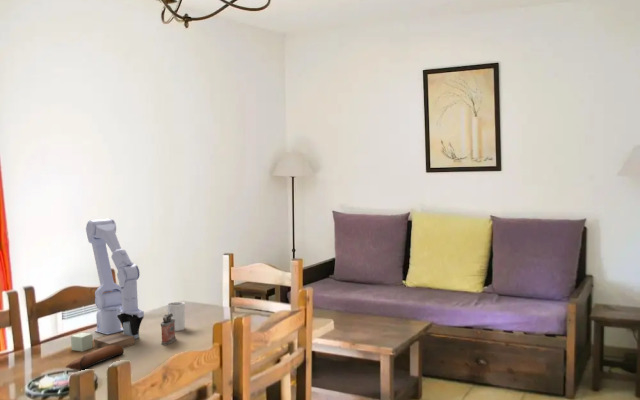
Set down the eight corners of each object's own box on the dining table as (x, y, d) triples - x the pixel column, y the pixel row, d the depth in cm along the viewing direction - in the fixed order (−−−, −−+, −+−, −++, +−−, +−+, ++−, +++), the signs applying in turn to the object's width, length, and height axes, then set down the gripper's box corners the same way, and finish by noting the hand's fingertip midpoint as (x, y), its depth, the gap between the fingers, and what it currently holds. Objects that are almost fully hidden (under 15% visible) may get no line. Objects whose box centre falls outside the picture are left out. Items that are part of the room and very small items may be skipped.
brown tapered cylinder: (105, 351, 215) (112, 336, 213) (119, 363, 212) (126, 348, 210) (63, 367, 199) (69, 351, 197) (77, 380, 196) (84, 364, 194)
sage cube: (71, 350, 218) (70, 336, 218) (82, 346, 223) (81, 332, 223) (82, 351, 216) (81, 337, 216) (93, 347, 221) (92, 333, 220)
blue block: (123, 338, 231) (122, 322, 231) (132, 336, 234) (132, 320, 234) (129, 340, 229) (129, 324, 228) (139, 337, 232) (138, 321, 231)
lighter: (168, 344, 221) (166, 317, 220) (159, 344, 222) (158, 317, 221) (177, 338, 229) (176, 311, 228) (169, 338, 229) (168, 311, 229)
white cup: (183, 330, 239) (182, 305, 239) (166, 331, 240) (165, 305, 239) (187, 326, 246) (186, 301, 245) (170, 326, 246) (169, 301, 246)
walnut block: (94, 347, 222) (93, 339, 222) (119, 340, 230) (118, 332, 230) (109, 352, 216) (109, 343, 215) (134, 345, 223) (134, 337, 223)
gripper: (109, 297, 232) (110, 333, 233) (131, 302, 223) (133, 339, 224) (125, 294, 238) (127, 329, 238) (148, 298, 228) (149, 334, 229)
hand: (131, 333), depth 231 cm, fingers open, 5 cm apart
